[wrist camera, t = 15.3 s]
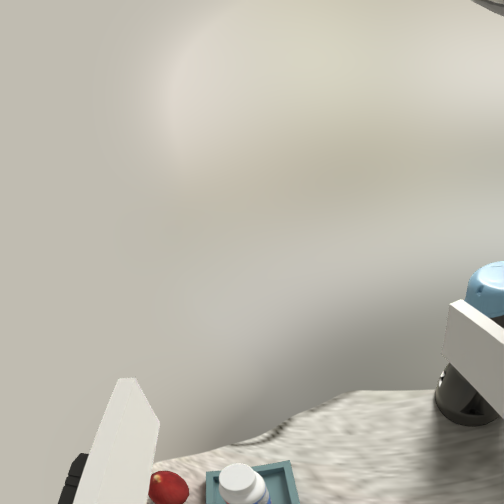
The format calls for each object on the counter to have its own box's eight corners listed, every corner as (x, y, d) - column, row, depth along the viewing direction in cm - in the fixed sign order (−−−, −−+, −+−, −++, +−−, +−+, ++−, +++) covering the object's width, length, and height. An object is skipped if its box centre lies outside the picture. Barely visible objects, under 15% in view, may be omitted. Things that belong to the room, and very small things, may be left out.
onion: (153, 492, 30) (129, 467, 28) (186, 479, 33) (166, 453, 31) (167, 520, 25) (142, 498, 23) (202, 506, 28) (183, 483, 26)
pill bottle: (225, 514, 26) (202, 487, 23) (240, 486, 31) (223, 453, 28) (264, 525, 24) (249, 500, 21) (278, 494, 29) (267, 462, 26)
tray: (291, 466, 34) (289, 460, 33) (306, 533, 22) (306, 529, 21) (210, 478, 33) (206, 471, 33) (211, 544, 22) (206, 540, 21)
